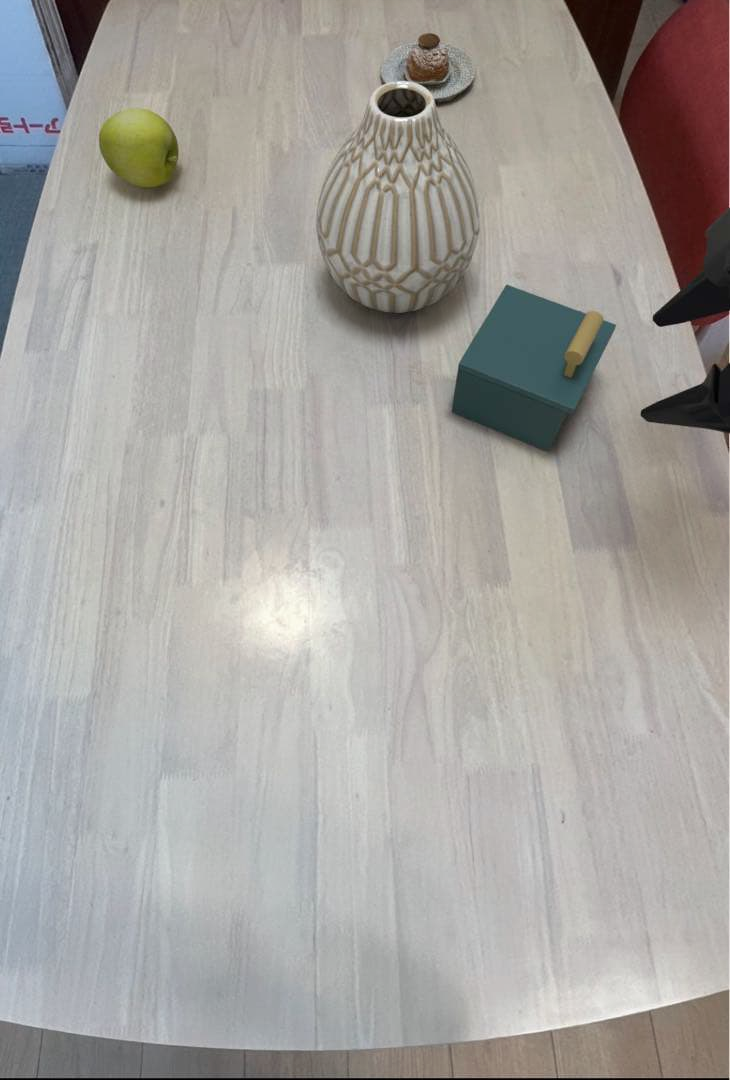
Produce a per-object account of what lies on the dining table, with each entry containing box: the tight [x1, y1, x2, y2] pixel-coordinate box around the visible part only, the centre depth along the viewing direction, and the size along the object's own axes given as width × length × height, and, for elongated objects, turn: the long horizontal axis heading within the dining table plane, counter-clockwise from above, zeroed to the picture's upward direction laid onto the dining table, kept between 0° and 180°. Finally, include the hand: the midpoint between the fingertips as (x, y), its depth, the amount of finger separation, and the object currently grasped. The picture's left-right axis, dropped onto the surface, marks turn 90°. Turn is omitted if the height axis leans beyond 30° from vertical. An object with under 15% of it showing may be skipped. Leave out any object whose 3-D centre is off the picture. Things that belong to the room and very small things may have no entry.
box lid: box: [457, 284, 617, 415], centre depth 66 cm, size 11×11×4 cm
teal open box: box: [451, 368, 569, 453], centre depth 71 cm, size 10×11×6 cm
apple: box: [98, 107, 180, 188], centre depth 84 cm, size 8×9×8 cm
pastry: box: [380, 32, 476, 104], centre depth 94 cm, size 12×12×5 cm
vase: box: [315, 81, 481, 314], centre depth 71 cm, size 16×16×20 cm
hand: (649, 367), depth 56 cm, fingers open, 9 cm apart
